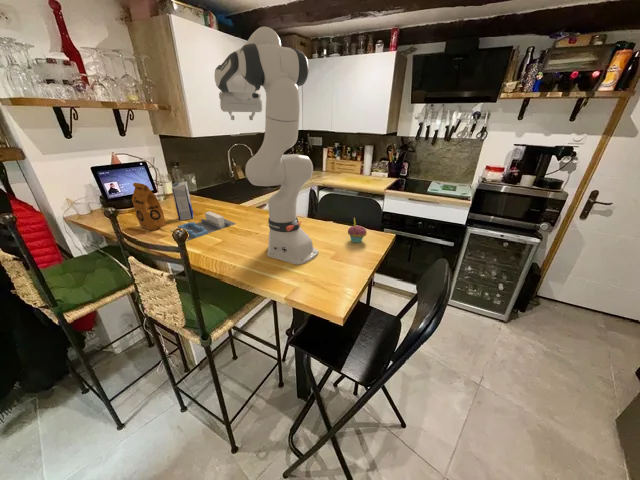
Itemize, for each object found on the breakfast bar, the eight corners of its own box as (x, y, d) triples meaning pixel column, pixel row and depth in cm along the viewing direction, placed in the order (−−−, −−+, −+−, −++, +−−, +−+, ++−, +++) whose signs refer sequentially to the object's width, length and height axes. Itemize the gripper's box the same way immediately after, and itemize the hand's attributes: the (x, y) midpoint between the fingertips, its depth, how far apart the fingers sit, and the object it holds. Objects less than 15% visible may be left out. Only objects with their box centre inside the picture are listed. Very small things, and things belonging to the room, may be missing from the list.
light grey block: (224, 225, 132) (223, 216, 129) (219, 227, 129) (218, 218, 127) (211, 220, 138) (210, 211, 136) (206, 221, 136) (204, 212, 134)
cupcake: (351, 245, 116) (353, 220, 111) (344, 237, 124) (346, 213, 118) (368, 243, 118) (371, 219, 113) (361, 235, 126) (363, 212, 121)
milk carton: (193, 220, 140) (185, 183, 131) (179, 222, 138) (170, 184, 129) (193, 216, 146) (186, 180, 137) (180, 217, 144) (172, 181, 135)
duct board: (236, 225, 135) (235, 219, 133) (187, 242, 116) (186, 236, 115) (219, 218, 144) (218, 212, 142) (170, 233, 125) (169, 226, 124)
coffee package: (149, 233, 125) (135, 188, 115) (137, 227, 131) (123, 183, 121) (170, 226, 132) (159, 183, 122) (158, 221, 138) (146, 180, 129)
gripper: (220, 93, 119) (222, 122, 129) (263, 95, 128) (262, 122, 138) (217, 87, 123) (219, 116, 133) (260, 89, 131) (259, 116, 141)
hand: (241, 119), depth 135 cm, fingers open, 8 cm apart
